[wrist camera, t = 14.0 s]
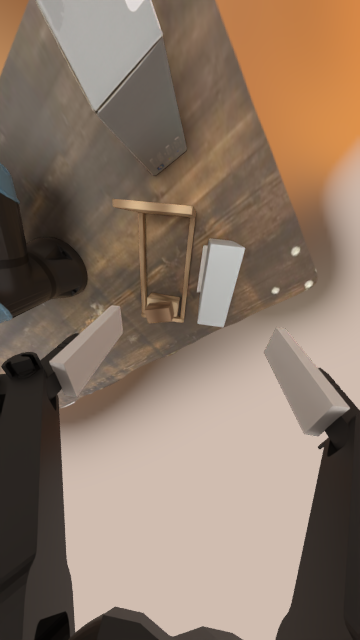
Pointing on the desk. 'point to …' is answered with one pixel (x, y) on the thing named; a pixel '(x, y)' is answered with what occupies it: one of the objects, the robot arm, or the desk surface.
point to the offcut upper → (159, 312)
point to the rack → (142, 209)
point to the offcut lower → (164, 300)
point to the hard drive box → (122, 72)
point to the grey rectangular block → (219, 281)
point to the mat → (202, 267)
